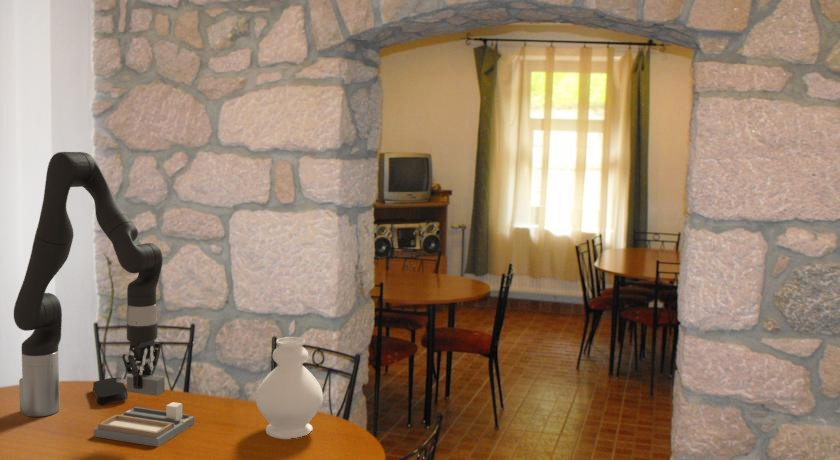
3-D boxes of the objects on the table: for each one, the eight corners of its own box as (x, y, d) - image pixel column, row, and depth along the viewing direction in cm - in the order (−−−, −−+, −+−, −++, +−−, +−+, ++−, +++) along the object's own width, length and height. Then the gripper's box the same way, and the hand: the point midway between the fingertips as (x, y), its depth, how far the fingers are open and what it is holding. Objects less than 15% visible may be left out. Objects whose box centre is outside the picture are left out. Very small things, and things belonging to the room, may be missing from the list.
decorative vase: (288, 413, 228) (290, 328, 225) (335, 429, 218) (337, 340, 215) (241, 431, 214) (242, 340, 210) (289, 448, 203) (291, 353, 200)
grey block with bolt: (113, 389, 207) (113, 374, 206) (121, 386, 210) (121, 371, 209) (157, 395, 203) (157, 380, 203) (164, 392, 206) (164, 377, 206)
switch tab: (166, 419, 214) (166, 405, 214) (172, 416, 217) (172, 402, 217) (176, 421, 213) (176, 407, 213) (182, 417, 216) (182, 403, 216)
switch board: (93, 436, 207) (93, 424, 206) (134, 414, 223) (134, 403, 222) (157, 446, 202) (157, 434, 201) (194, 423, 218) (194, 412, 217)
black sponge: (128, 404, 232) (128, 391, 232) (97, 407, 228) (97, 395, 228) (121, 387, 246) (121, 376, 246) (91, 390, 242) (91, 379, 242)
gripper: (138, 329, 196) (138, 396, 198) (170, 316, 210) (170, 380, 212) (111, 326, 198) (112, 392, 200) (145, 314, 212) (146, 376, 214)
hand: (142, 385), depth 206 cm, fingers closed on grey block with bolt, 3 cm apart
